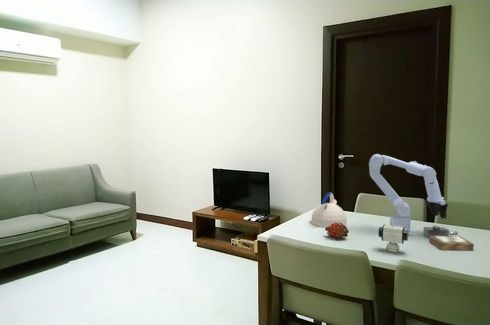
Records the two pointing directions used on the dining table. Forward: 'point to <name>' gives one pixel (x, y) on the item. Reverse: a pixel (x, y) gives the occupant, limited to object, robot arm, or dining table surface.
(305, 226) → the dining table surface
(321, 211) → the kettle
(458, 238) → the stand
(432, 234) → the block
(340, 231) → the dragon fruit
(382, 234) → the pneumatic valve
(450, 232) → the loose bolt
